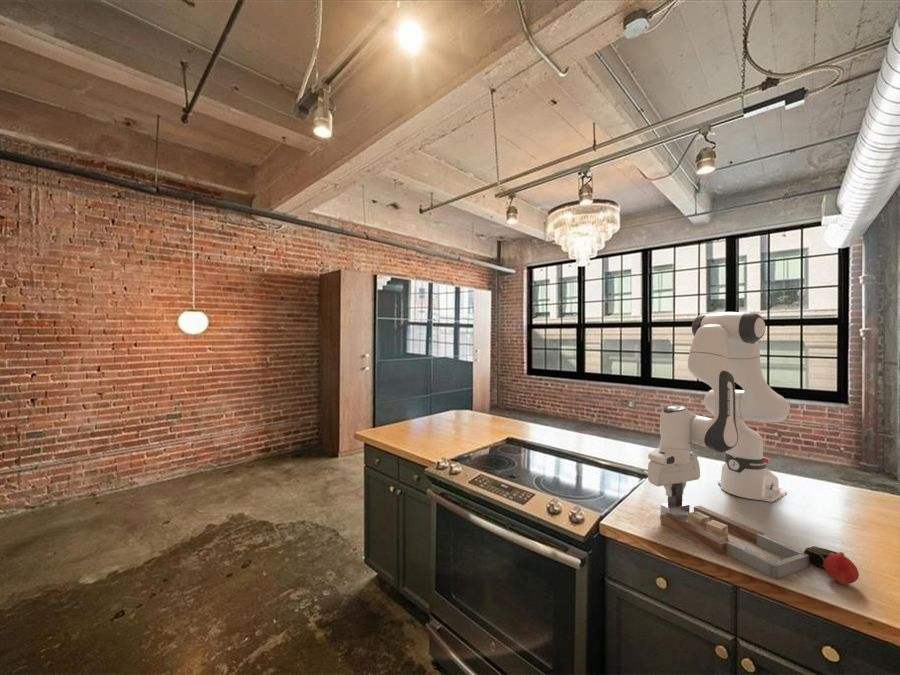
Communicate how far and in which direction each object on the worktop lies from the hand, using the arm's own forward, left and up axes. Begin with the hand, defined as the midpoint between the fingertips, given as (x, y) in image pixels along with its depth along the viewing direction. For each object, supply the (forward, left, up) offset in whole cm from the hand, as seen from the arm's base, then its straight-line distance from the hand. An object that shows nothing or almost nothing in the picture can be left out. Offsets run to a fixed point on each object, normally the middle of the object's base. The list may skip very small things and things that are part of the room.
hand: (674, 495), depth 124 cm
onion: (-6, +39, -7) cm, 40 cm away
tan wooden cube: (0, +8, -7) cm, 11 cm away
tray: (0, +27, -7) cm, 28 cm away
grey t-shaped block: (0, 0, -7) cm, 7 cm away
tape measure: (-14, +35, -7) cm, 39 cm away
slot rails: (0, +12, -7) cm, 14 cm away
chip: (+1, +14, -7) cm, 16 cm away
